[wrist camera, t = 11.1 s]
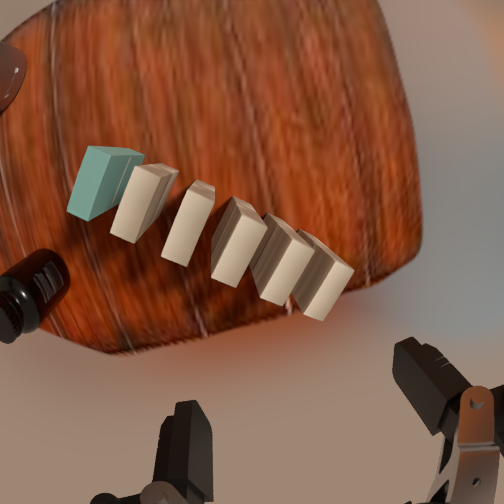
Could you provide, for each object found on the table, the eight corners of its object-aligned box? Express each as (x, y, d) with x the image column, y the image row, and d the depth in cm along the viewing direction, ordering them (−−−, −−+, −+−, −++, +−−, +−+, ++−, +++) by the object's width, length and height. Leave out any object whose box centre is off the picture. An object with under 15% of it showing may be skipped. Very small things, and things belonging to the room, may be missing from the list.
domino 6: (277, 268, 32) (303, 314, 22) (299, 228, 30) (335, 260, 21) (292, 274, 32) (322, 321, 23) (314, 236, 31) (354, 270, 22)
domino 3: (177, 223, 29) (160, 256, 19) (196, 179, 27) (187, 190, 18) (195, 231, 29) (186, 267, 20) (214, 187, 28) (215, 201, 19)
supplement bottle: (29, 241, 27) (-31, 280, 15) (72, 253, 28) (16, 301, 17) (31, 290, 28) (-18, 339, 17) (72, 303, 30) (28, 362, 19)
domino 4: (211, 238, 30) (210, 277, 20) (232, 195, 28) (241, 215, 19) (228, 246, 30) (235, 288, 21) (250, 204, 29) (268, 227, 20)
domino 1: (110, 192, 27) (66, 211, 17) (128, 148, 25) (88, 145, 16) (126, 199, 27) (87, 221, 18) (145, 155, 26) (111, 155, 17)
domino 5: (245, 253, 31) (259, 297, 21) (267, 212, 29) (292, 239, 20) (262, 261, 31) (282, 306, 22) (283, 220, 30) (315, 250, 21)
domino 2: (142, 207, 28) (109, 232, 18) (161, 163, 26) (134, 166, 17) (159, 215, 28) (134, 243, 19) (179, 171, 27) (160, 177, 18)
